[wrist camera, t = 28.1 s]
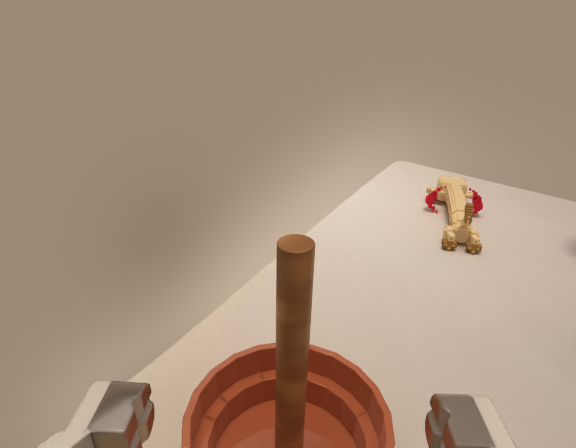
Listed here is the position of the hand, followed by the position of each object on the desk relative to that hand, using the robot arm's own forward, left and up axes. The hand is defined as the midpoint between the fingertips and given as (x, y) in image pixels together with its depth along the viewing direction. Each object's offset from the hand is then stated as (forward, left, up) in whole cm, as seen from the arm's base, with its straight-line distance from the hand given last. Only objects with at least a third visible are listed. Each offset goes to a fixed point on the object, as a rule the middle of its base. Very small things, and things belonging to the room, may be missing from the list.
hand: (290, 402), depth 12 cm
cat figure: (-17, +64, -22) cm, 70 cm away
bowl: (-8, +9, -22) cm, 25 cm away
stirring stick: (-8, +9, -21) cm, 25 cm away
